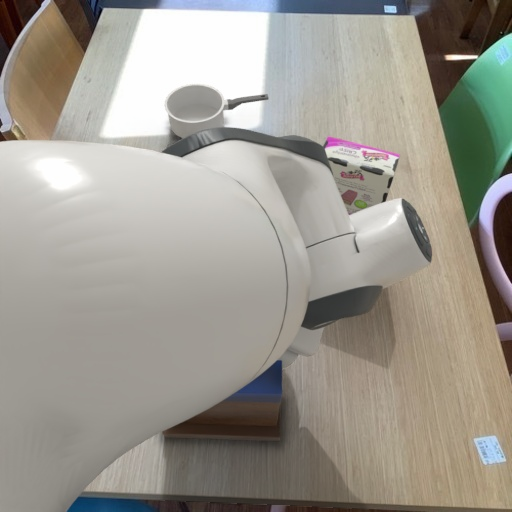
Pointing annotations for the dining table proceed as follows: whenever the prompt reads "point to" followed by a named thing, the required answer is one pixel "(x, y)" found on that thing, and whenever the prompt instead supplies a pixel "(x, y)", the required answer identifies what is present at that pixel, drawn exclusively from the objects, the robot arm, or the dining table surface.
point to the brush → (240, 413)
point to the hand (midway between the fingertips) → (223, 312)
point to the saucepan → (200, 108)
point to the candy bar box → (360, 172)
